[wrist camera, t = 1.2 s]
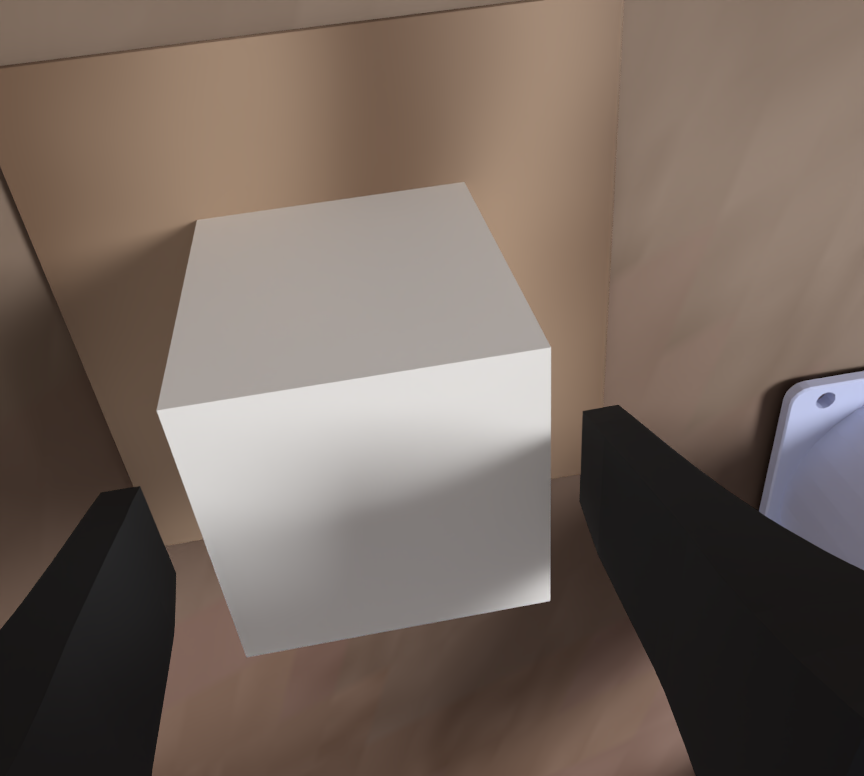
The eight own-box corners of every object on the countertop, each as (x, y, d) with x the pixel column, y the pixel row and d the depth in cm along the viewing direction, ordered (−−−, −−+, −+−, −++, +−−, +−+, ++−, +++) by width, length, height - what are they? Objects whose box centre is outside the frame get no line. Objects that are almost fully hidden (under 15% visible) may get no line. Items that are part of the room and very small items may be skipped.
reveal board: (621, -12, 15) (624, -10, 15) (597, 466, 22) (599, 470, 22) (-36, 70, 14) (-39, 73, 14) (159, 541, 21) (158, 547, 21)
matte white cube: (464, 181, 16) (551, 347, 11) (478, 394, 20) (550, 601, 14) (196, 220, 16) (156, 410, 11) (255, 430, 19) (246, 657, 14)
